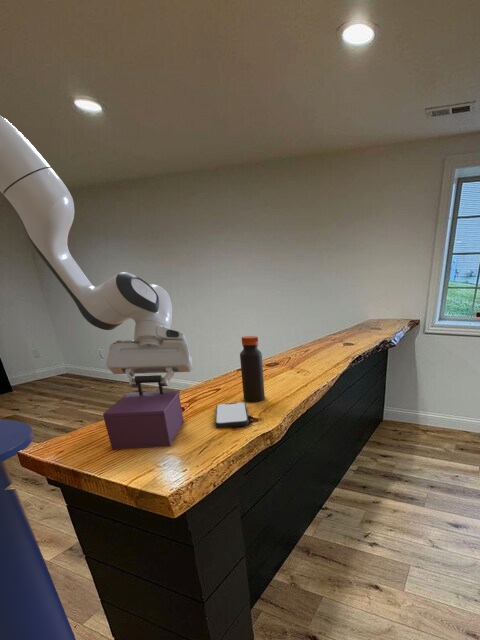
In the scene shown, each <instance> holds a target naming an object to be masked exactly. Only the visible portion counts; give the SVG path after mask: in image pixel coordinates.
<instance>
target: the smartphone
mask: <svg viewBox="0 0 480 640" xmlns="http://www.w3.org/2000/svg"><path fill="white" fill-rule="evenodd" d="M214 421H215V422H214V425H215V427H216V428H217V429H218V428H219V429H224V428H233V427H244V426H248V425H249V424H250V421H249V414H248V408H247V404H246V402H231V403H219V404H216V406H215V418H214Z"/></svg>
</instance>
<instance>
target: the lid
mask: <svg viewBox="0 0 480 640" xmlns="http://www.w3.org/2000/svg"><path fill="white" fill-rule="evenodd" d="M134 378H135V382H136V383H137V386H138V387H137V391H129V392H127V393H126V394H125V395H124V396H122V397H121V398H119V400H117V401H115V403H114V404H113V405H111V406H110V407H109V408H108V409H107V410H105V411H104V412H103V413H102V417H103V418H104V417H116V416H137V415H159V414H165V413H166V411H167V410H168V409H169V407H170V406H171V405H172V403H173V402H174V400H175V399H176V398H177V396H178V395H179V396H180V392H181V391H180V390H164V388H163V387H164V386H162V385H161V378H163V376H162V375H161V374H159V375H157V374H156V375H154V374H153V375H134ZM154 383H157V384H158V391H157V390H156V391H155V390H154V391H143V387H142V384H154Z"/></svg>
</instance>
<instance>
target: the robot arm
mask: <svg viewBox="0 0 480 640" xmlns="http://www.w3.org/2000/svg"><path fill="white" fill-rule="evenodd" d="M0 193H1V194H2V195H3V197H5V198H6V200H8V202H9V203H10V204H11V205H12V207H13V208H14V210H15V211H16V213H17V214H18V216H19V218H20V220H21V221H22V224H23V226H24V228H25V234H26V236H27V238H28V241H29V242H30V244H31V245H32V247H33V249H34V251H36V253H37V254H38V255H39V257H40V258H41V260H42V261H43V262H44V263H45V265H46V266H47V267H48V268H49V270H50V271H51V272H52V274H53V275H54V276H55V278H56V279H57V280H58V282H59V283H60V284H61V286H62V287H63V288H64V289H65V290H66V292H67V293H68V295H69V296H70V297H71V299H72V300H73V302H74V303H75V305H76V307H77V308H78V310H79V312H80V314H81V315H82V317H83V318H84V320H86V322H88V323H89V324H90V325H91V326H94V327H95V328H97V329H101V330H104V331H113V330H114V329H116V328H117V327H119V326H120V325H122V324H123V323H124V322H126V321H128V320H130V319H131V320H133V321H134V323H135V325H134V332H133V333H134V334H133V340H132V339H131V340H116V341H114V342H113V343H110V345H109V348H108V349H109V350H108V351H109V352H108V355H107V358H106V362H105V364H106V368H107V369H108V370H109V371H110V372H111V373H112V374H113V375H126V376H127V378H128V379H129V382H128V385H129V387H130V388H138V386H137V383H136V382H135V376H136V374H137V375H139V374H165V376H164V377H163V376H162V378H161V385H162V387H169V386H170V385H169V384H170V381H171V379H172V378H173V377H174V376H175V373H190V372H191V371H192V370H193V368H194V365H193V364H194V363H193V357H192V354H191V350H190V346H189V341H188V339H187V337H186V335H185V333H184V332H183V331H180V330H176V329H172V328H171V326H172V323H173V304H172V299H171V297H170V295H169V293H168V291H166V289H165V288H163V286H160V285H158V284H155V283H148V282H147V281H145V280H143V279H142V278H141V277H139V276H137V275H135V274H134V273H130V272H128V271H121V272H119V273H117V274H115V275H114V276H112V277H111V278H109V279H107V280H105V281H104V282H103V283H101V284H99V285H97V286H95V285H93V284H92V282H91V281H90V280H89V279H88V277H87V276H86V275H85V273H84V271H83V270H82V269H81V267H80V265H78V262H76V261H75V259H74V257H73V256H72V255H71V252H70V250H69V246H68V245H69V244H68V239H69V238H68V237H69V234H70V230H71V227H72V225H73V223H74V219H75V202H74V198H73V196H72V194H71V192H70V190H69V188H68V187H67V186H66V184H65V182H64V181H63V180H62V179H61V178H60V176H59V174H57V172H55V170H54V169H53V167H52V166H51V165H50V163H48V161H47V160H46V159H45V158H44V157H43V155H42V154H41V153H40V152H39V151H38V150H37V149H36V148H35V146H34V145H33V144H32V143H31V142H30V141H29V140H28V138H26V137H25V136H24V135H23V134H22V132H20V131H19V130H18V129H17V128H16V127H15V126H14V125H13V124H12V123H11V122H10V121H9V120H8V119H6V118H5V117H3V116H2V115H0Z"/></svg>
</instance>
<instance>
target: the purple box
mask: <svg viewBox="0 0 480 640" xmlns="http://www.w3.org/2000/svg"><path fill="white" fill-rule="evenodd" d="M103 421H104V424H105V427H106V432H107V435H108V439H109V443H110V447H111V450H125V449H126V450H127V449H141V448H142V449H143V448H161V447H171V446H172V444H173V442H174V440H175V438H176V437H177V435H178V433H179V431H180V430H181V428H182V426H183V424H184V423H185V421H184V415H183V409H182V402H181V397H180V394H179V395H178V396H177V398H176V399H175V400H174V402H173V403H172V405H171V406H170V407H169V409H168V410H167V411H166V413H165V414H159V415H137V416H116V417H103Z"/></svg>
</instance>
